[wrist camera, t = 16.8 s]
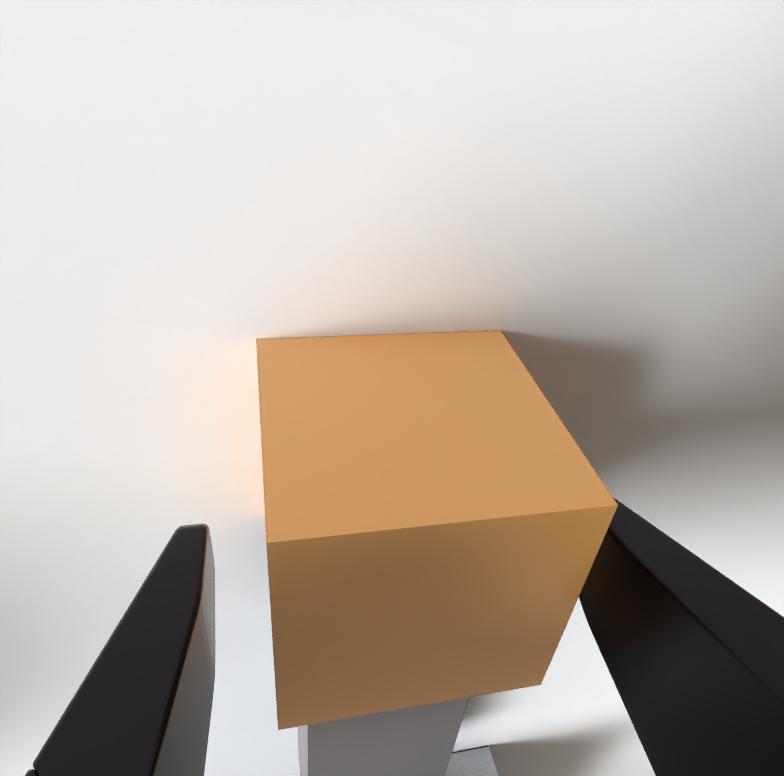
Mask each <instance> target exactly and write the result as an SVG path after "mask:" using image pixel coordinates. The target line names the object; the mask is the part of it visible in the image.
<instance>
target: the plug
mask: <svg viewBox="0 0 784 776" xmlns="http://www.w3.org/2000/svg"><path fill="white" fill-rule="evenodd" d="M256 344H257V364H258V383H259V403H260V423H261V442H262V462H263V482H264V501H265V521H266V541H267V557H268V573H269V589H270V605H271V621H272V637H273V653H274V669H275V685H276V701H277V718H278V730H280V729H286V728H292V727H298V751H299V764H300V776H445V774H446V771H447V768H448V765H449V761H450V758H451V755H452V751H453V748H454V745H455V741H456V738H457V735H458V732H459V728H460V725H461V722H462V718H463V715H464V712H465V709H466V705H467V702H468V699H469V697H472V696H478V695H484V694H489V693H495V692H501V691H507V690H513V689H518V688H524V687H530V686H536V685H541V683H542V681H543V678H544V676H545V674H546V671H547V669H548V667H549V664H550V662H551V660H552V657H553V655H554V653H555V650H556V648H557V646H558V643H559V641H560V639H561V636H562V634H563V632H564V630H565V627H566V625H567V623H568V620H569V618H570V616H571V613H572V611H573V609H574V606H575V604H576V602H577V599H578V597H579V595H580V592H581V590H582V588H583V585H584V583H585V581H586V578H587V576H588V574H589V571H590V569H591V567H592V564H593V562H594V560H595V557H596V555H597V553H598V550H599V548H600V546H601V543H602V541H603V539H604V537H605V534H606V532H607V530H608V527H609V525H610V523H611V520H612V518H613V516H614V513H615V511H616V509H617V506H618V504H617V503H616V501H615V500H614V498H613V497H612V495H611V494H610V492H609V491H608V489H607V488H606V487H605V485H604V484H603V482H602V481H601V479H600V478H599V476H598V475H597V473H596V472H595V470H594V469H593V467H592V466H591V464H590V463H589V461H588V460H587V458H586V457H585V455H584V454H583V452H582V451H581V449H580V448H579V446H578V445H577V443H576V442H575V440H574V439H573V437H572V436H571V434H570V433H569V431H568V430H567V428H566V427H565V425H564V424H563V422H562V421H561V420H560V418H559V417H558V415H557V414H556V412H555V411H554V409H553V408H552V406H551V405H550V403H549V402H548V400H547V399H546V397H545V396H544V394H543V393H542V391H541V390H540V388H539V387H538V385H537V384H536V382H535V381H534V379H533V378H532V376H531V375H530V373H529V372H528V370H527V369H526V367H525V366H524V364H523V363H522V361H521V360H520V358H519V357H518V355H517V354H516V353H515V351H514V350H513V348H512V347H511V345H510V344H509V342H508V341H507V339H506V338H505V336H504V335H503V333H502V332H501V330H492V331H465V332H437V333H410V334H383V335H356V336H329V337H302V338H274V339H256Z"/></svg>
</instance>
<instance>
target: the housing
mask: <svg viewBox="0 0 784 776" xmlns="http://www.w3.org/2000/svg"><path fill="white" fill-rule="evenodd" d="M445 776H498V773H497V770H496V767H495V763H494V760H493V757H492V754H491V751H490V747H484V748H479V749H473V750H468V751H463V752H458V753H452V755H451V758H450V761H449V765H448V768H447V771H446V774H445Z"/></svg>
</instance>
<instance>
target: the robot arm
mask: <svg viewBox="0 0 784 776" xmlns="http://www.w3.org/2000/svg"><path fill="white" fill-rule="evenodd" d="M613 498H614V497H613ZM614 500H615V501H616V503H617V504H618V506H617V509H616V511H615V513H614V516H613V518H612V520H611V523H610V525H609V527H608V530H607V532H606V534H605V537H604V539H603V541H602V543H601V546H600V548H599V550H598V553H597V555H596V557H595V560H594V562H593V564H592V567H591V569H590V571H589V574H588V576H587V578H586V581H585V583H584V585H583V588H582V590H581V592H580V595H579V599H580V602H581V605H582V608H583V611H584V613H585V616H586V619H587V622H588V624H589V626H590V629H591V631H592V634H593V636H594V638H595V640H596V643H597V645H598V647H599V649H600V652H601V654H602V656H603V658H604V661H605V663H606V665H607V667H608V669H609V672H610V674H611V676H612V678H613V681H614V683H615V685H616V687H617V690H618V692H619V694H620V696H621V699H622V701H623V703H624V705H625V708H626V710H627V712H628V714H629V717H630V719H631V721H632V723H633V725H634V728H635V730H636V732H637V734H638V737H639V739H640V741H641V743H642V746H643V748H644V750H645V752H646V755H647V757H648V759H649V761H650V764H651V766H652V768H653V770H654V773H655V775H656V776H784V617H783V616H781V615H780V614H778V613H777V612H776V611H774V610H773V609H771V608H770V607H769V606H767V605H766V604H764V603H763V602H761V601H760V600H759V599H757V598H756V597H754V596H753V595H751V594H750V593H749V592H747V591H746V590H744V589H743V588H742V587H740V586H739V585H737V584H736V583H734V582H733V581H732V580H730V579H729V578H727V577H726V576H724V575H723V574H722V573H720V572H719V571H717V570H716V569H714V568H713V567H712V566H710V565H709V564H707V563H706V562H705V561H703V560H702V559H700V558H699V557H697V556H696V555H695V554H693V553H692V552H690V551H689V550H687V549H686V548H685V547H683V546H682V545H680V544H679V543H678V542H676V541H675V540H673V539H672V538H670V537H669V536H668V535H666V534H665V533H663V532H662V531H660V530H659V529H658V528H656V527H655V526H653V525H652V524H651V523H649V522H648V521H646V520H645V519H643V518H642V517H641V516H639V515H638V514H636V513H635V512H633V511H632V510H631V509H629V508H628V507H626V506H625V505H623V504H622V503H621V502H619V501H618V500H616V499H615V498H614ZM214 679H215V567H214V557H213V551H212V544H211V537H210V531H209V527H208V526H207V525H206V524H195V525H185V526H180V527H179V528H177V530H176V531H175V532H174V534H173V535H172V537H171V539H170V540H169V542H168V544H167V545H166V547H165V549H164V550H163V552H162V553H161V555H160V557H159V558H158V560H157V562H156V563H155V565H154V566H153V568H152V570H151V571H150V573H149V575H148V576H147V578H146V580H145V581H144V583H143V584H142V586H141V588H140V589H139V591H138V593H137V594H136V596H135V597H134V599H133V601H132V602H131V604H130V606H129V607H128V609H127V610H126V612H125V614H124V615H123V617H122V619H121V620H120V622H119V624H118V625H117V627H116V628H115V630H114V632H113V633H112V635H111V637H110V638H109V640H108V641H107V643H106V645H105V646H104V648H103V650H102V651H101V653H100V654H99V656H98V658H97V659H96V661H95V663H94V664H93V666H92V668H91V669H90V671H89V672H88V674H87V676H86V677H85V679H84V681H83V682H82V684H81V685H80V687H79V689H78V690H77V692H76V694H75V695H74V697H73V699H72V700H71V702H70V703H69V705H68V707H67V708H66V710H65V712H64V713H63V715H62V716H61V718H60V720H59V721H58V723H57V725H56V726H55V728H54V729H53V731H52V733H51V734H50V736H49V738H48V739H47V741H46V743H45V744H44V746H43V747H42V749H41V751H40V752H39V754H38V756H37V757H36V759H35V760H34V762H33V767H34V769H35V770H34V769H31V770H29V771H28V772H27V773H26V775H25V776H204V769H205V760H206V752H207V743H208V735H209V726H210V717H211V709H212V700H213V691H214Z"/></svg>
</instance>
